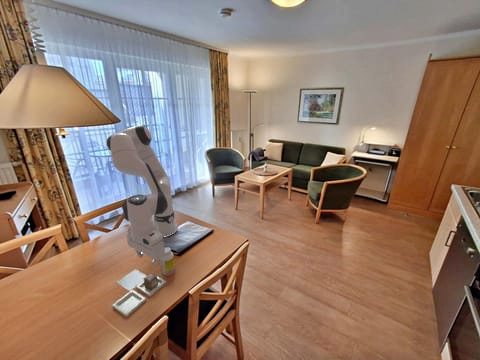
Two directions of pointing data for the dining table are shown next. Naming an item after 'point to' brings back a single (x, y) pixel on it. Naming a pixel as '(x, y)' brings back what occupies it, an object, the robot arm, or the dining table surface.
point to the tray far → (129, 303)
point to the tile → (132, 280)
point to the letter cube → (150, 281)
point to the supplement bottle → (167, 262)
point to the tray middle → (151, 292)
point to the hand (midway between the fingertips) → (147, 259)
